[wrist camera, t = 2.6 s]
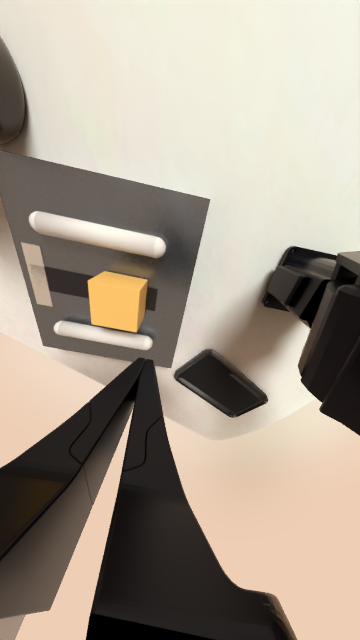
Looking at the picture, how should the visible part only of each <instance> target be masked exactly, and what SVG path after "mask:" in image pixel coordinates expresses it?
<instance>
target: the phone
mask: <svg viewBox="0 0 360 640" xmlns="http://www.w3.org/2000/svg"><path fill="white" fill-rule="evenodd" d="M192 360H193V361H192ZM190 361H191V362H190ZM190 361H188V362H187V363H186V364H184V365H183V366H181V367H180V368H179V369H177V370H176V372H175V379H176V380H177V381H178V382H179V383H181V384H182V385H184V386H185V387H187V388H188V389H190V390H191V391H192V392H194V393H195V394H197V395H198V396H200V397H201V398H203V399H204V400H206V401H207V402H208V403H210V404H211V405H213V406H214V407H216V408H217V409H219V410H220V411H221V412H223V413H224V414H226V415H227V416H229V417H232V418H234V417H238V416H240V415H242V414H244V413H247V412H249V411H251V410H253V409H255V408H257V407H259V406H262V405H264V404H266V403H267V402H268V398H267V395H266V394H265V393H264V392H263V391H262V390H260V389H259V388H258V387H257V386H256V385H255V384H254V383H253V382H251V381H250V380H249V379H247V378H246V377H245V376H244V375H243V374H242V373H240V372H239V371H238V370H237V369H236V368H235V367H233V366H232V365H231V364H230V363H229V362H227V361H226V360H225V359H224V358H223V357H222V356H220V355H219V354H218V353H217V352H216V351H214V350H212V349H206V350H204V351H202V352H201V353H199V354H198V355H197V356H195V357H194V358H192V359H191V360H190ZM189 362H190V363H189Z"/></svg>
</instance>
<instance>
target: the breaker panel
mask: <svg viewBox="0 0 360 640" xmlns="http://www.w3.org/2000/svg"><path fill="white" fill-rule="evenodd" d="M0 195H1V198H2V202H3V205H4V209H5V212H6V216H7V219H8V223H9V226H10V230H11V233H12V237H13V240H14V244H15V247H16V251H17V255H18V258H19V262H20V265H21V269H22V272H23V276H24V279H25V283H26V286H27V290H28V293H29V297H30V300H31V304H32V307H33V311H34V315H35V318H36V322H37V325H38V329H39V332H40V336H41V339H42V343H43V346H47V347H52V348H58V349H64V350H70V351H75V352H81V353H87V354H92V355H98V356H104V357H110V358H115V359H121V360H127V361H132V362H134V361H135V360H136V359H137V358H139V357H141V358H145V359H151V360H154V365H155V366H161V367H167V368H171V366H172V362H173V358H174V353H175V349H176V345H177V340H178V336H179V332H180V328H181V323H182V319H183V315H184V310H185V306H186V302H187V297H188V293H189V289H190V284H191V280H192V276H193V271H194V267H195V263H196V259H197V254H198V250H199V246H200V241H201V237H202V233H203V228H204V224H205V220H206V215H207V211H208V207H209V202H210V199H207V198H203V197H198V196H194V195H190V194H185V193H181V192H177V191H173V190H168V189H164V188H160V187H155V186H151V185H147V184H143V183H138V182H134V181H130V180H126V179H121V178H117V177H113V176H108V175H104V174H100V173H96V172H91V171H87V170H83V169H79V168H74V167H70V166H66V165H61V164H57V163H53V162H49V161H44V160H40V159H36V158H31V157H27V156H23V155H19V154H14V153H10V152H6V151H2V150H0ZM35 211H41V212H46V213H50V214H55V215H59V216H64V217H69V218H73V219H78V220H82V221H87V222H92V223H96V224H101V225H105V226H110V227H115V228H119V229H124V230H128V231H133V232H138V233H142V234H147V235H151V236H156V237H159V238H161V239H162V240H163V241H164V243H165V246H166V250H165V253H164V254H163V256H161V257H159V258H153V257H148V256H144V255H139V254H134V253H129V252H125V251H120V250H115V249H110V248H106V247H101V246H96V245H91V244H86V243H82V242H77V241H72V240H67V239H63V238H58V237H53V236H48V235H44V234H40V233H38V232H37V231H35V230H34V229H33V228H32V227H31V225H30V223H29V216H30V214H31V213H33V212H35ZM104 271H107V272H112V273H117V274H122V275H127V276H132V277H137V278H142V279H147V280H148V284H147V294H146V304H145V315H144V318H143V320H142V322H141V324H140V326H139V329H138V331H137V332H131V331H126V330H120V329H115V328H109V327H104V326H99V325H93V324H92V323H91V312H90V301H89V290H88V280H90V279H91V278H93V277H95V276H97V275H99V274H100V273H102V272H104ZM59 321H69V322H74V323H79V324H85V325H90V326H96V327H101V328H107V329H112V330H118V331H123V332H128V333H134V334H139V335H145V336H149V337H150V338H151V339H152V342H153V344H152V347H151V348H150V349H148V350H140V349H134V348H129V347H123V346H118V345H112V344H107V343H101V342H95V341H90V340H84V339H79V338H73V337H67V336H62V335H58V334H56V333H55V331H54V325H55V324H56V323H57V322H59Z"/></svg>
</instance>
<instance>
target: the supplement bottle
mask: <svg viewBox="0 0 360 640" xmlns="http://www.w3.org/2000/svg"><path fill="white" fill-rule="evenodd" d="M24 115H25V100H24V93H23V88H22V84H21V80H20V77H19V74H18V71H17V68H16V66H15V63H14V61H13V59H12V56H11V54H10V52H9V50H8V48H7V47H6V45H5V43H4V41H3V40H2V38H1V37H0V143H6V142H8V141H10V140H12V139H13V138H15V137H16V136H17V135H18V133H19V132H20V130H21V128H22V125H23V121H24Z"/></svg>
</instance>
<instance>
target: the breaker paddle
mask: <svg viewBox="0 0 360 640" xmlns="http://www.w3.org/2000/svg"><path fill="white" fill-rule="evenodd" d="M147 284H148V280H147V279H142V278H137V277H132V276H127V275H122V274H117V273H112V272H107V271H104V272H102V273H100V274H99V275H97V276H95V277H93V278H91V279H90V280H88V290H89V301H90V312H91V323H92V324H93V325H99V326H104V327H109V328H115V329H120V330H126V331H131V332H137V331H138V329H139V326H140V324H141V322H142V320H143V318H144V315H145V304H146V294H147Z"/></svg>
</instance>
